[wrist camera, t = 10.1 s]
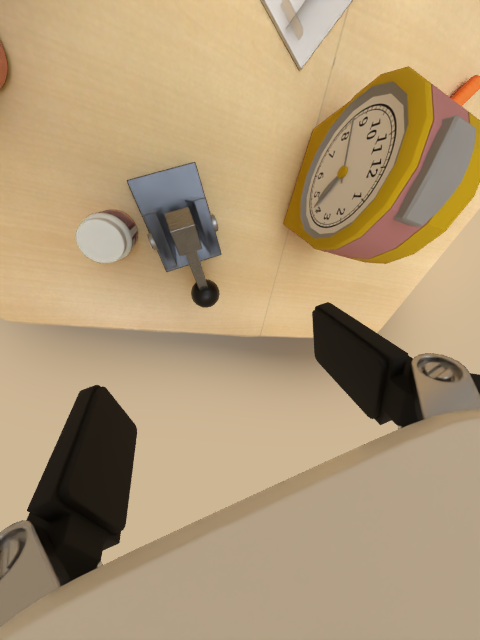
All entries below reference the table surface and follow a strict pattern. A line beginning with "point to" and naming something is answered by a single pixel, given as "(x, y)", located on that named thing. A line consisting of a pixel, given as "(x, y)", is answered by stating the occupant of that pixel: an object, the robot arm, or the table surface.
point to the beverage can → (2, 66)
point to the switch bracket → (170, 195)
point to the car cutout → (304, 23)
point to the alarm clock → (386, 171)
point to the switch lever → (191, 254)
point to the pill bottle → (107, 236)
